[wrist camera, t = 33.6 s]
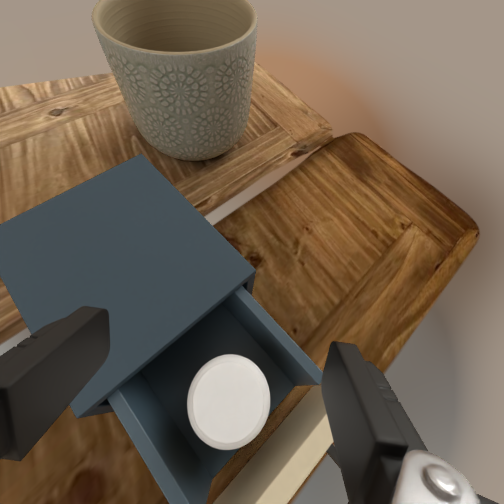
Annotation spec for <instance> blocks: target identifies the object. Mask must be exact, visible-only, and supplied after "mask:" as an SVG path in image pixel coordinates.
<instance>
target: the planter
mask: <svg viewBox="0 0 504 504" xmlns="http://www.w3.org/2000/svg"><path fill="white" fill-rule="evenodd" d="M92 22H93V25H94V28H95V31H96V33H97V36H98V38H99V41H100V44H101V46H102V48H103V51H104V53H105V56H106V58H107V61H108V63H109V65H110V67H111V70H112V72H113V75H114V77H115V79H116V82H117V84H118V86H119V88H120V91H121V93H122V96H123V98H124V100H125V103H126V105H127V108H128V110H129V112H130V115H131V117H132V119H133V121H134V123H135V125H136V127H137V129H138V130H139V132H140V133H141V135H142V136H143V137H144V139H145V140H146V141H147V142H148V143H149V144H150V145H151V146H153V147H154V148H155V149H157V150H158V151H160V152H162V153H163V154H165V155H168V156H170V157H173V158H176V159H181V160H187V161H200V160H207V159H211V158H214V157H217V156H219V155H221V154H223V153H225V152H226V151H228V150H229V149H231V148H232V147H233V146H234V145H235V144H236V143H237V142H238V141H239V139H240V138H241V136H242V135H243V133H244V131H245V128H246V126H247V122H248V118H249V111H250V104H251V92H252V81H253V71H254V60H255V49H256V37H257V14H256V11H255V9H254V7H253V6H252V5H251V4H250V3H249V2H248V1H247V0H100V1H99V2H98V3H97V4H96V5H95V7H94V9H93V11H92Z"/></svg>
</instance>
